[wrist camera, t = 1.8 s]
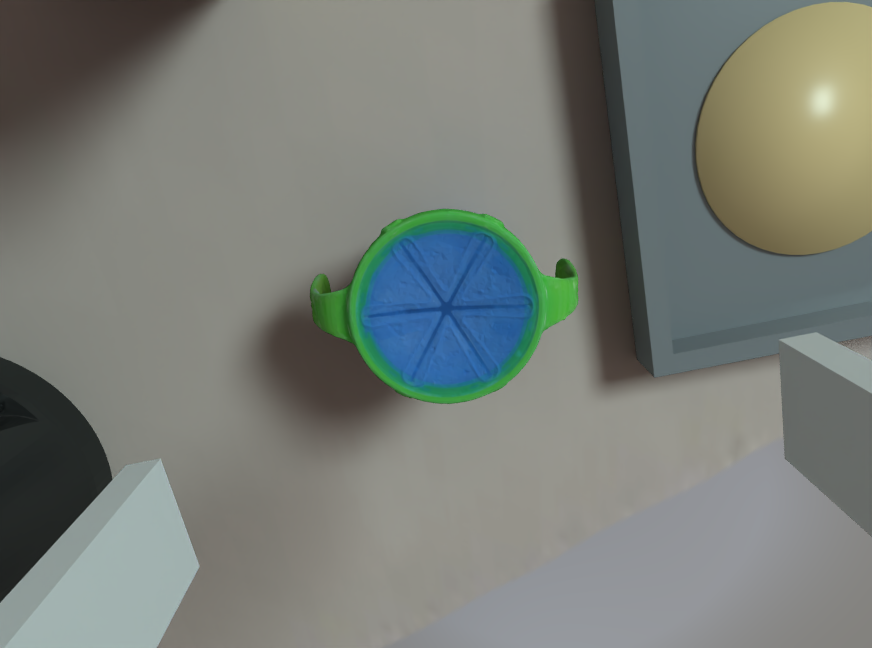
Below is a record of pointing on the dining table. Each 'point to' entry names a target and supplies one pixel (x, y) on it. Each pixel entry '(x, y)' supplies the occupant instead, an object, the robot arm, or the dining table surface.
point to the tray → (741, 172)
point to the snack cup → (446, 305)
